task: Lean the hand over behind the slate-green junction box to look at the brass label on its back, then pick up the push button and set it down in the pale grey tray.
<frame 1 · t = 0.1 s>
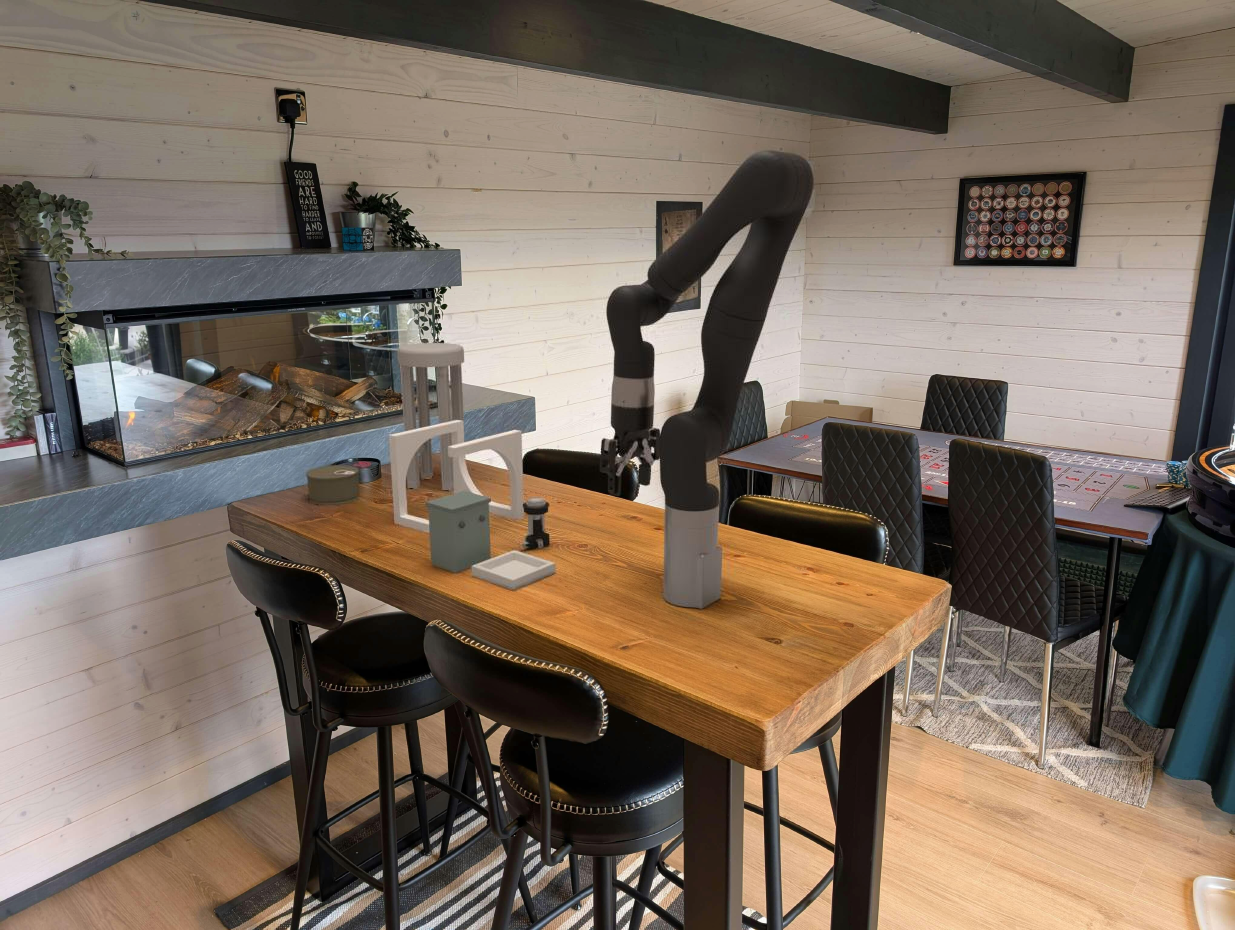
hand: (629, 489, 158), 17 cm above the table, tool pointing down, fingers open, 8 cm apart
can: (335, 499, 212), on the table
bookend: (459, 521, 196), on the table
tray: (513, 574, 165), on the table
push button: (534, 548, 179), on the table
stool: (437, 484, 224), on the table
junction box: (461, 562, 171), on the table
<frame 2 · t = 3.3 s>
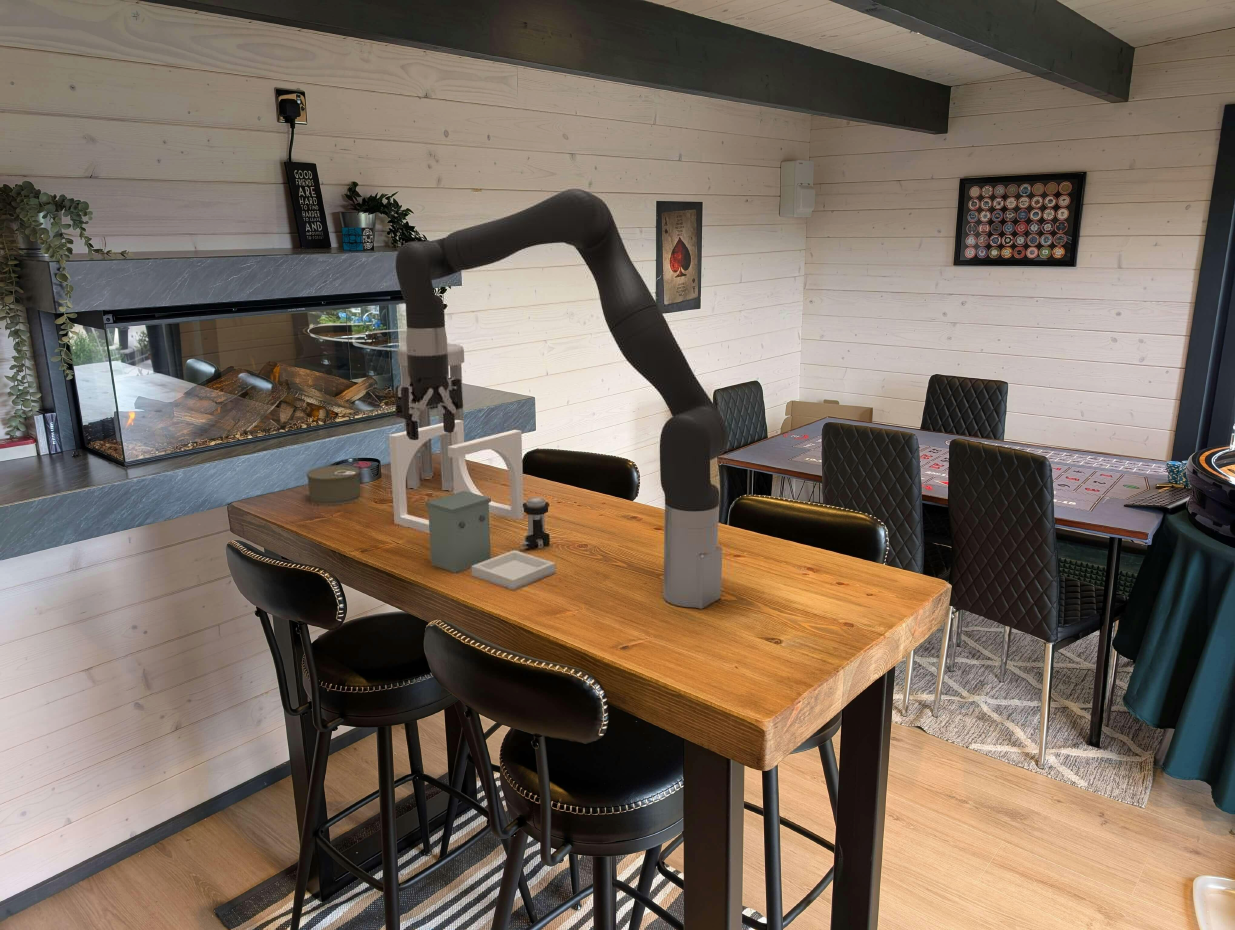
hand: (431, 435, 169), 24 cm above the table, tool pointing down, fingers open, 8 cm apart
nothing on the table moved.
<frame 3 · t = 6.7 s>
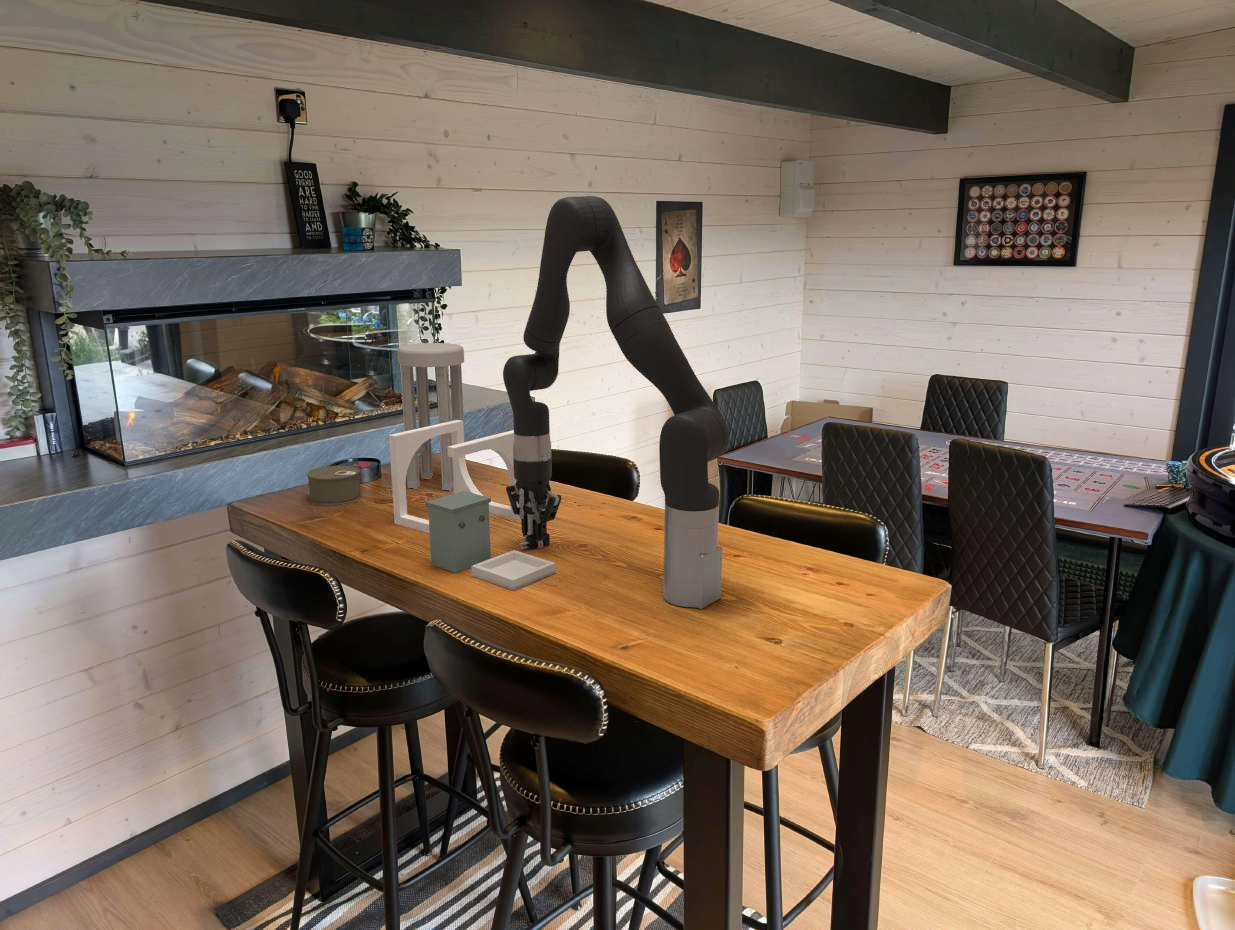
hand: (534, 537, 178), 2 cm above the table, tool pointing down, fingers closed on push button, 3 cm apart
push button: (534, 548, 179), on the table, touching gripper
everything else where it was.
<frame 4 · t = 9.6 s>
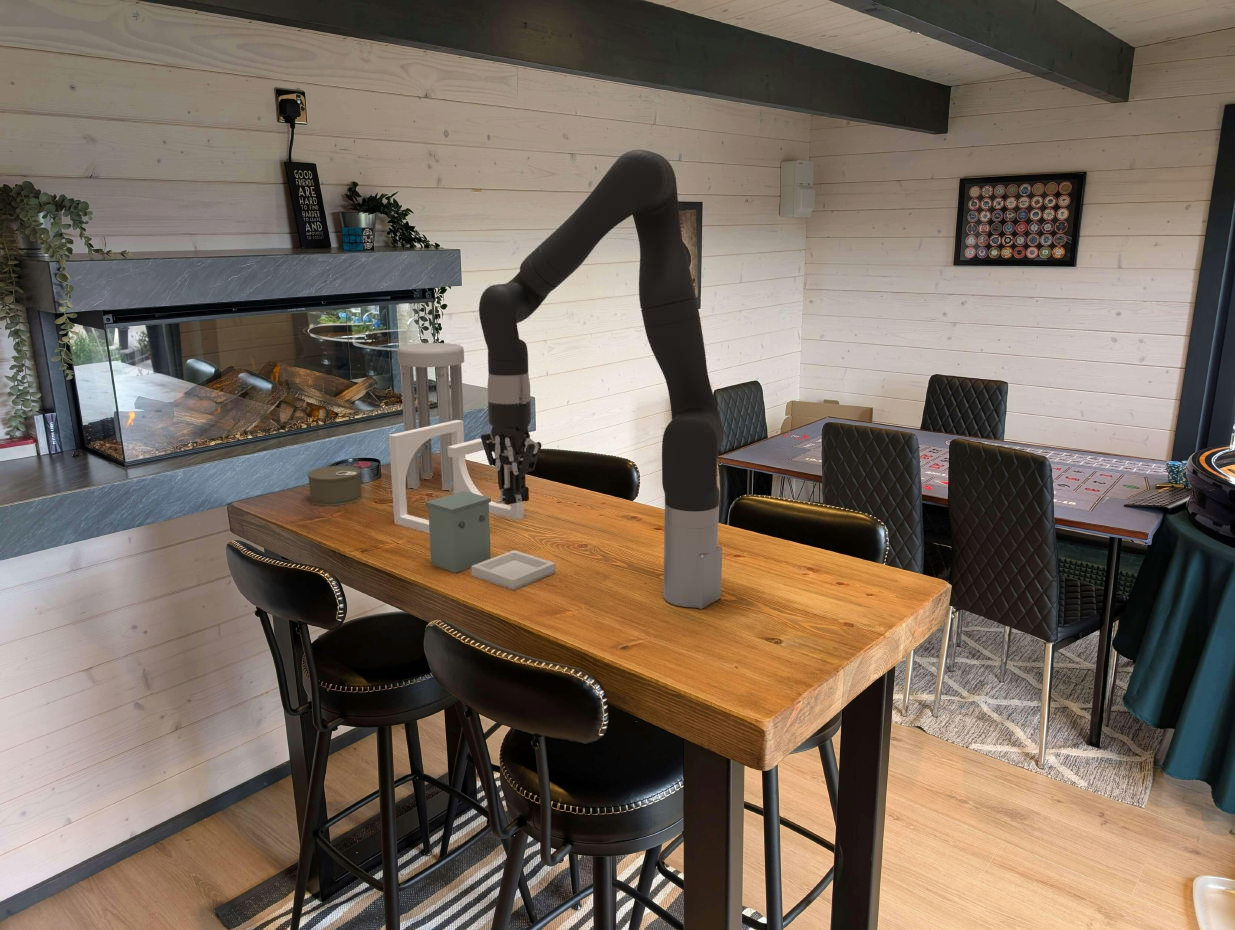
hand: (512, 491, 161), 16 cm above the table, tool pointing down, fingers closed on push button, 3 cm apart
push button: (511, 503, 161), point 14 cm above the table, touching gripper
everything else where it was.
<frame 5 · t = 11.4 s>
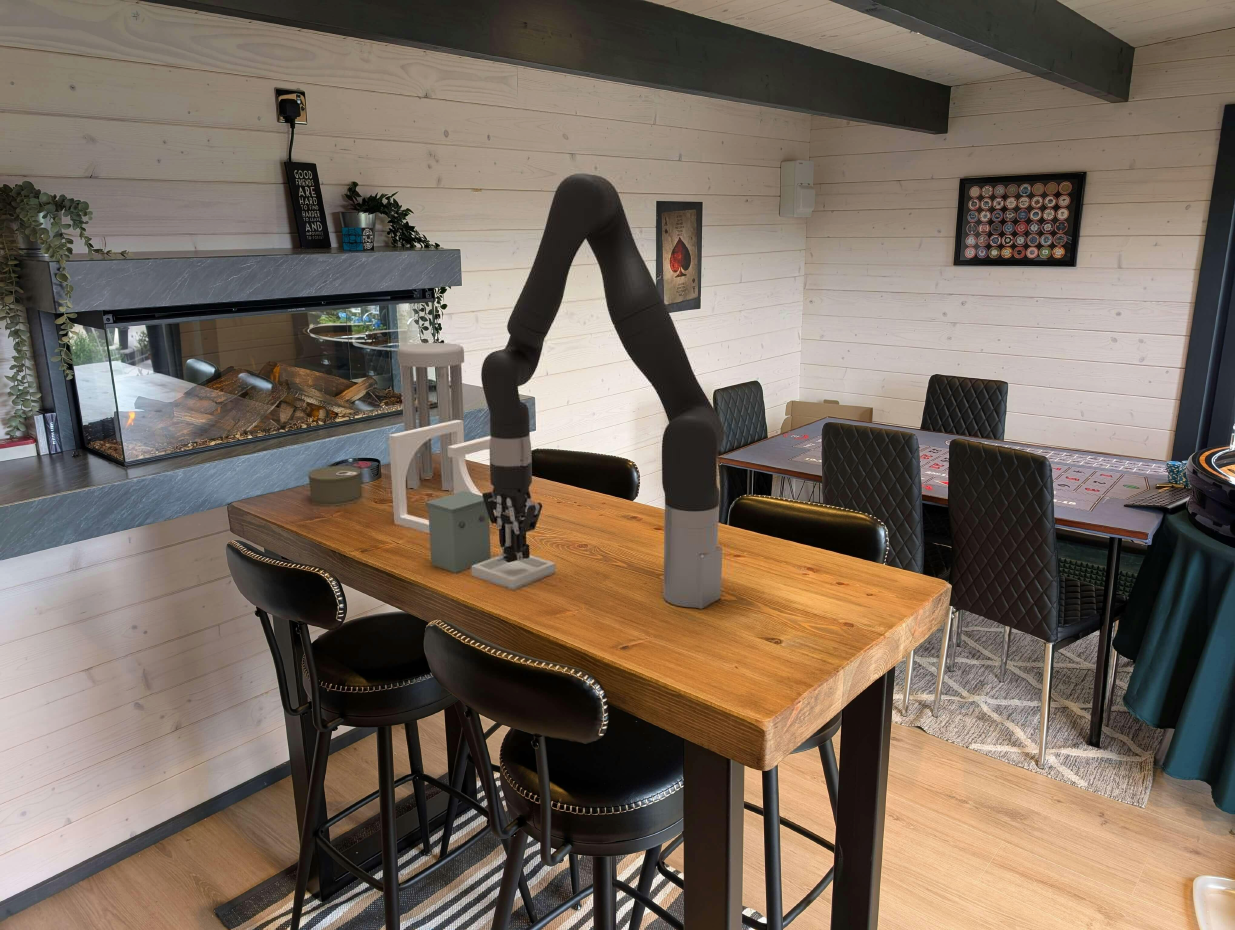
hand: (513, 548, 163), 5 cm above the table, tool pointing down, fingers closed on push button, 3 cm apart
push button: (512, 560, 164), point 3 cm above the table, touching gripper
everything else where it was.
when the fingers open (4 cm above the table, at t = 12.4 s): push button drops 1 cm, resting on tray.
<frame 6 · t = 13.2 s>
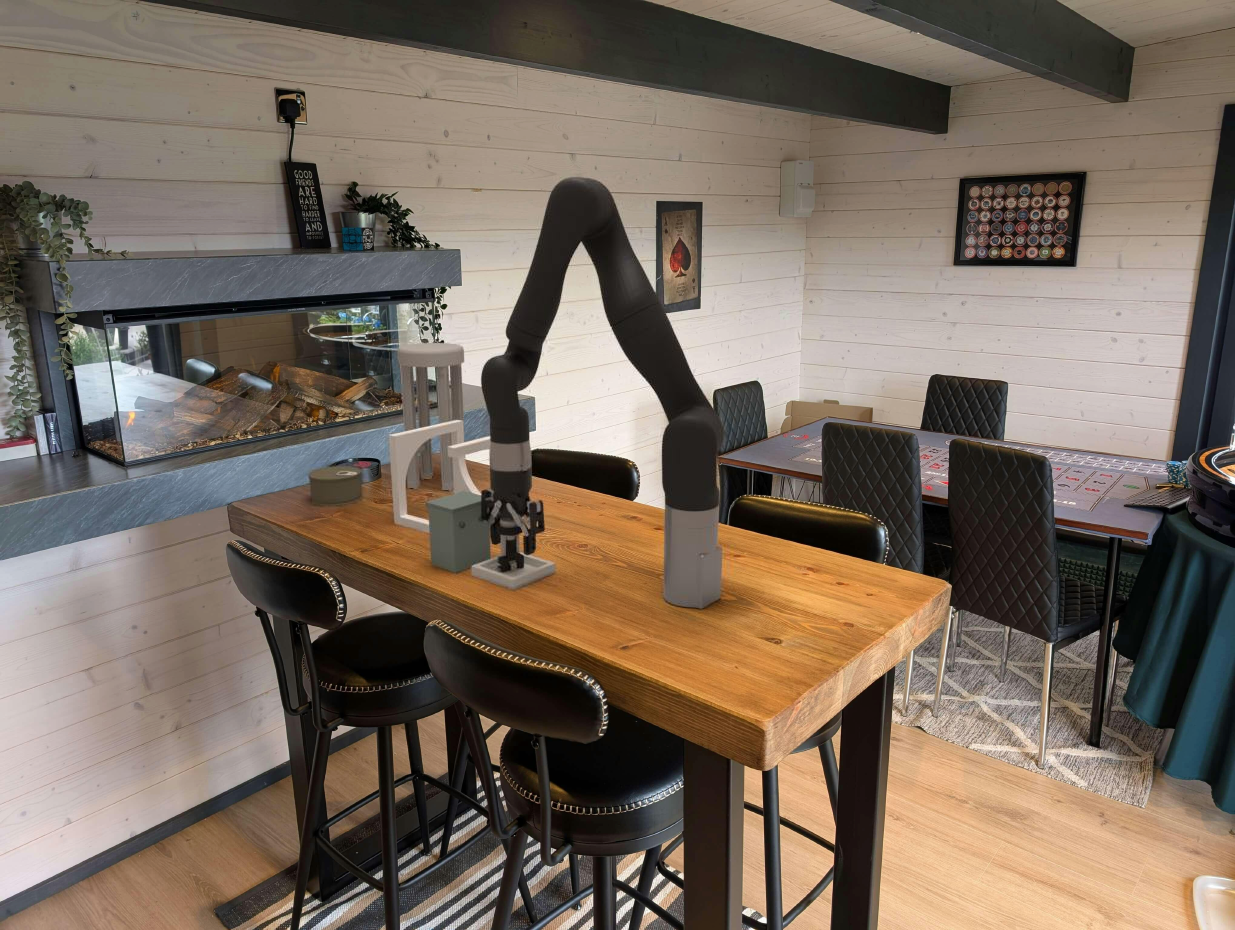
hand: (513, 548, 163), 5 cm above the table, tool pointing down, fingers open, 8 cm apart
push button: (506, 570, 166), resting on tray, touching gripper
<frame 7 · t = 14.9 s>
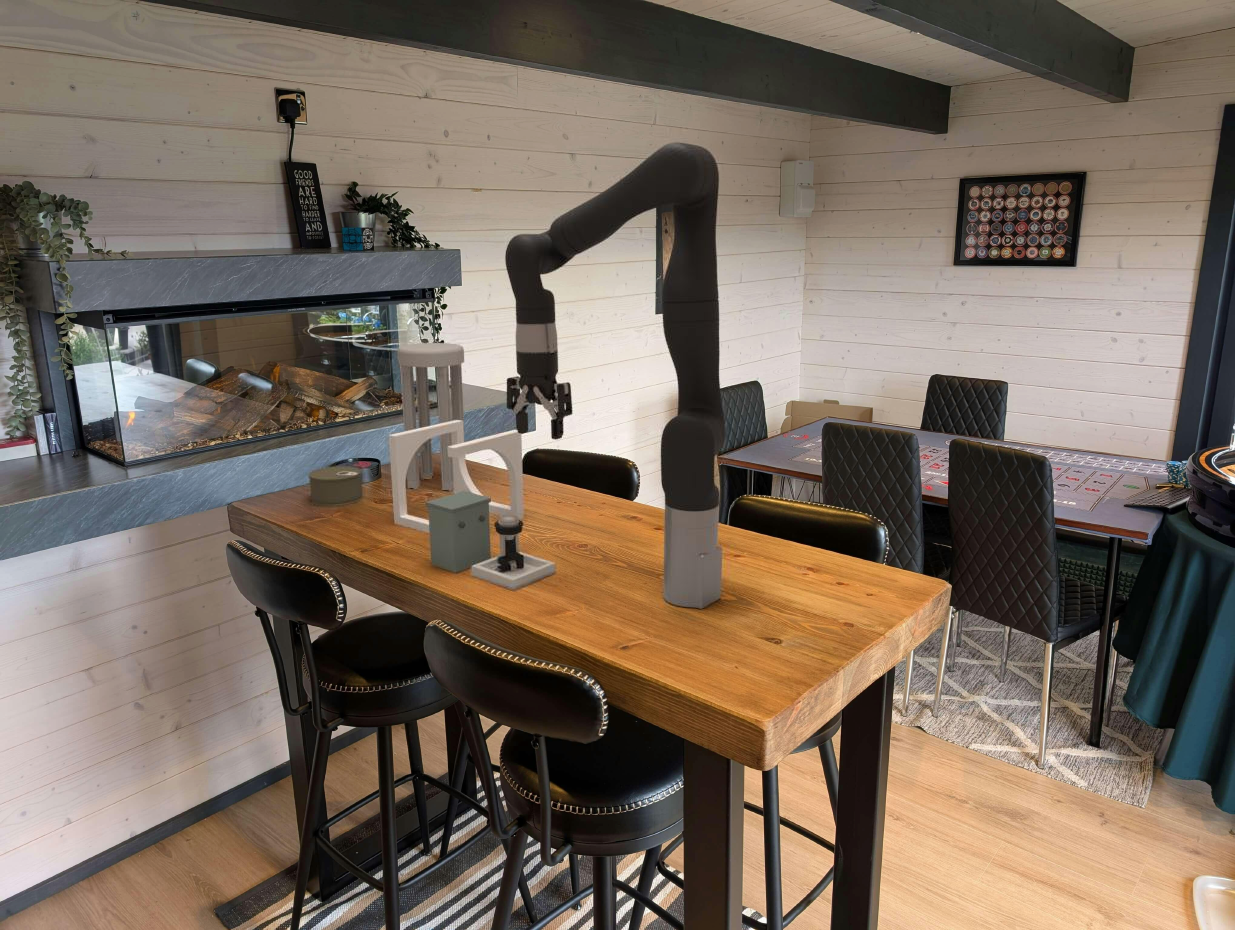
hand: (539, 435, 163), 25 cm above the table, tool pointing down, fingers open, 8 cm apart
push button: (506, 570, 166), resting on tray
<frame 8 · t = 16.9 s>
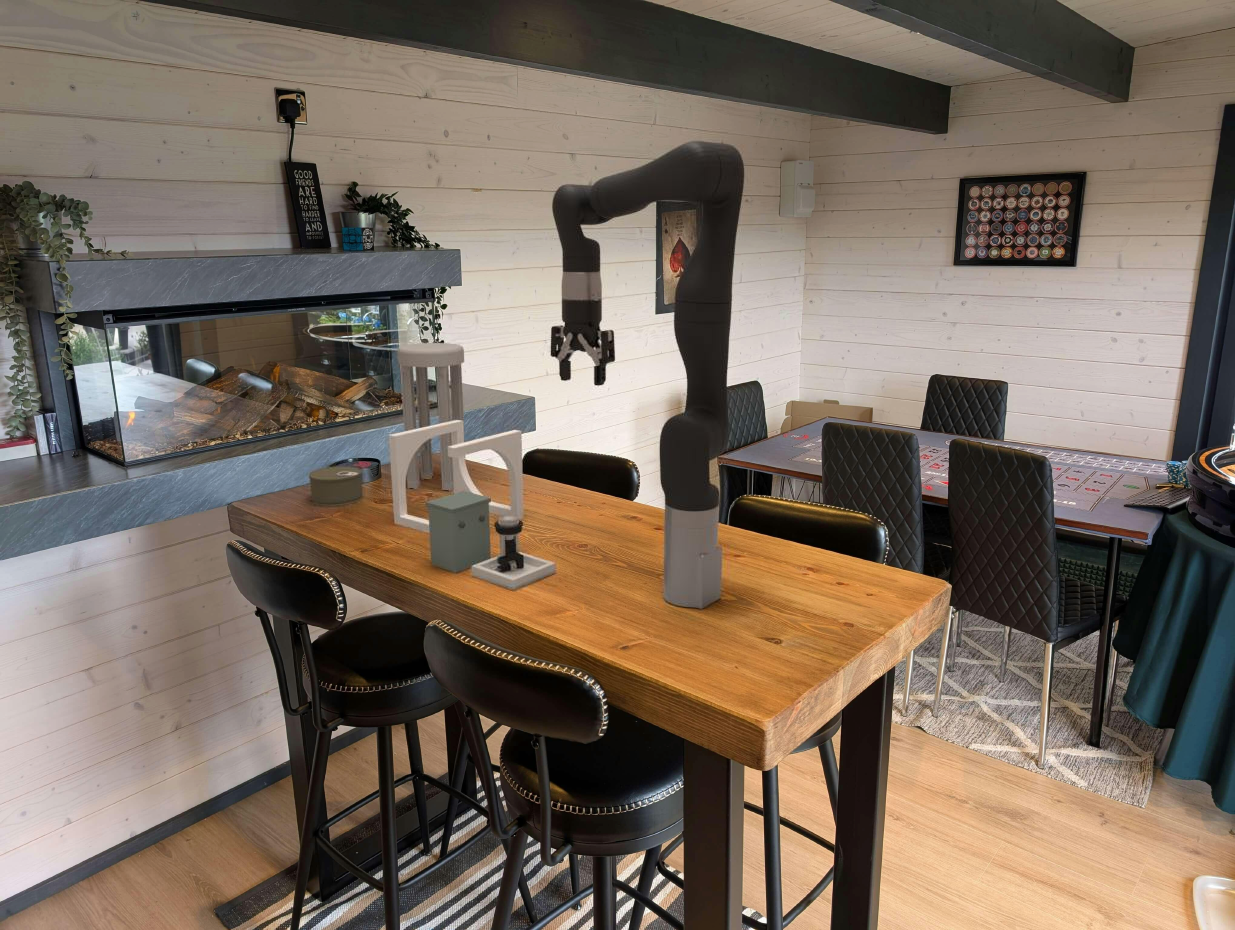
hand: (582, 382, 169), 34 cm above the table, tool pointing down, fingers open, 8 cm apart
at the end: push button inside the target area on the tray (1.9 cm from its centre), point 0.3 cm above the tray's base; push button tilted 0°; the gripper is holding nothing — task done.
